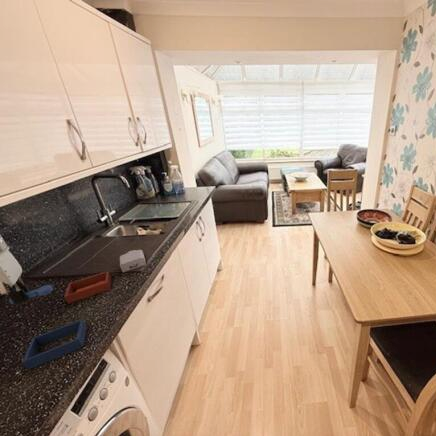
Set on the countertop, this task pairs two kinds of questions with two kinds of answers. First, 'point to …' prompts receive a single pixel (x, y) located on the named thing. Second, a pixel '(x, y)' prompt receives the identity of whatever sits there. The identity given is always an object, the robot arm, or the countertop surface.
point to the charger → (132, 260)
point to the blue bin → (36, 360)
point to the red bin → (72, 296)
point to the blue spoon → (37, 292)
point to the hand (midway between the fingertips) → (23, 298)
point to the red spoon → (90, 286)
